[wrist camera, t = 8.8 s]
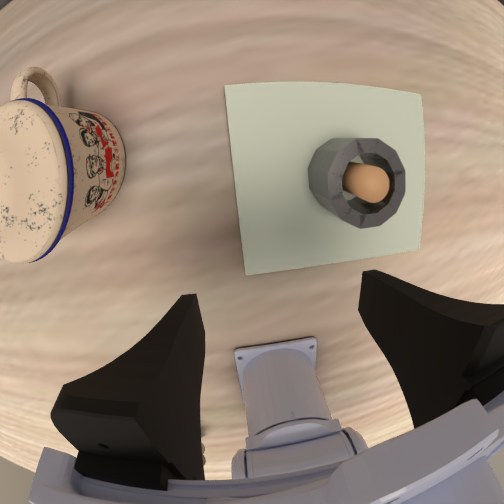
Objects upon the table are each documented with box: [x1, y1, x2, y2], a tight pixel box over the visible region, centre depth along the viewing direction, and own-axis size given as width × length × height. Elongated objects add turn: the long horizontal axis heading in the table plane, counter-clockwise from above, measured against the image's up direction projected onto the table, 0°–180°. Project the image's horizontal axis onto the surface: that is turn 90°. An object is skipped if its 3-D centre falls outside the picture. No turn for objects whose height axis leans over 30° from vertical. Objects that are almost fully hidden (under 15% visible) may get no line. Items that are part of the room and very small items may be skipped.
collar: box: [307, 138, 406, 229], centre depth 17 cm, size 6×6×4 cm
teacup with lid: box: [0, 67, 125, 264], centre depth 12 cm, size 12×9×12 cm
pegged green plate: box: [224, 82, 425, 276], centre depth 17 cm, size 14×16×6 cm
